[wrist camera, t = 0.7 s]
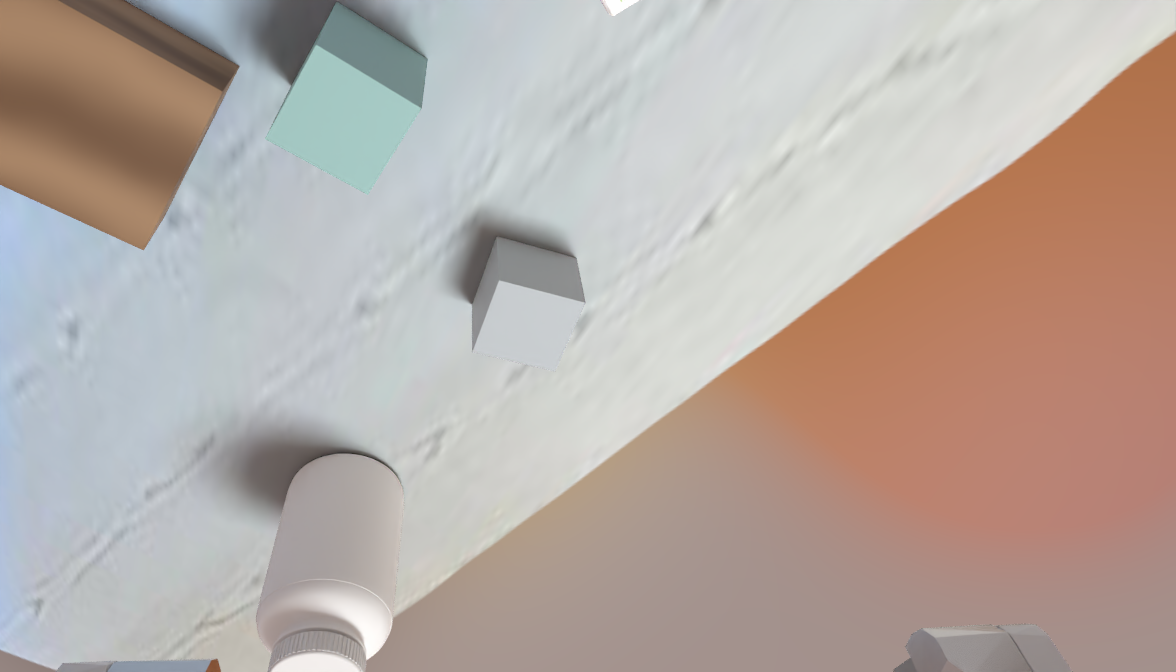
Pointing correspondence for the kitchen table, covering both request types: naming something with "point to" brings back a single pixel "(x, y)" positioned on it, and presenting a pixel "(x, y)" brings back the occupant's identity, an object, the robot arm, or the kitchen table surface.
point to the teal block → (351, 100)
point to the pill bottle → (333, 567)
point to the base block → (102, 110)
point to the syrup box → (617, 5)
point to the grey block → (526, 304)
